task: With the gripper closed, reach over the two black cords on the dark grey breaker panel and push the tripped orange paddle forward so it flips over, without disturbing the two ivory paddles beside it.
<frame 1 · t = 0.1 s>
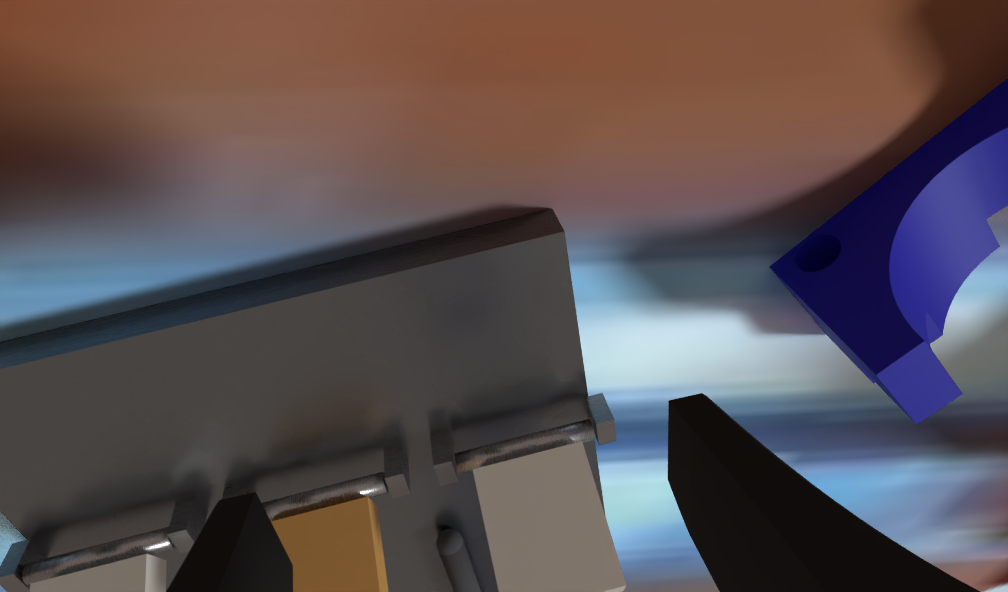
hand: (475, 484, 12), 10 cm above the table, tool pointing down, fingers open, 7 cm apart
ivory paddle 1: (546, 528, 21), point 5 cm above the table, hinge at -25.0°
breaker panel: (337, 481, 25), on the table
cords: (382, 574, 29), resting on breaker panel
cable clip: (940, 184, 23), on the table
orange paddle: (323, 587, 21), point 5 cm above the table, hinge at -25.0°
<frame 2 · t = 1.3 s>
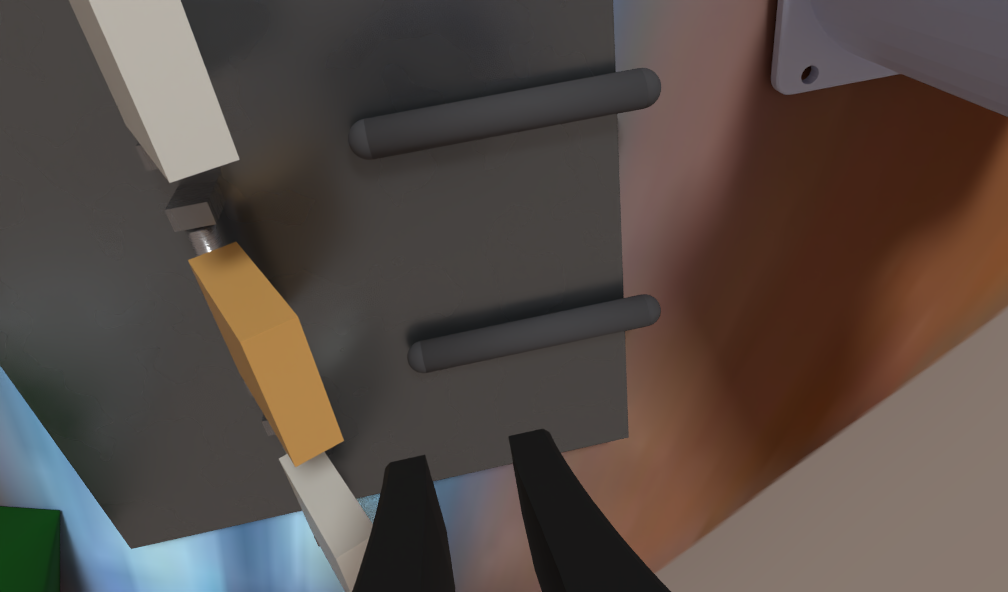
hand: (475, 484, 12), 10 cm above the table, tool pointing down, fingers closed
ivory paddle 1: (137, 45, 12), point 5 cm above the table, hinge at -25.0°
ivory paddle 2: (341, 532, 20), point 5 cm above the table, hinge at -25.0°
breaker panel: (313, 242, 20), on the table
cords: (509, 204, 21), resting on breaker panel
orange paddle: (264, 348, 16), point 5 cm above the table, hinge at -25.0°
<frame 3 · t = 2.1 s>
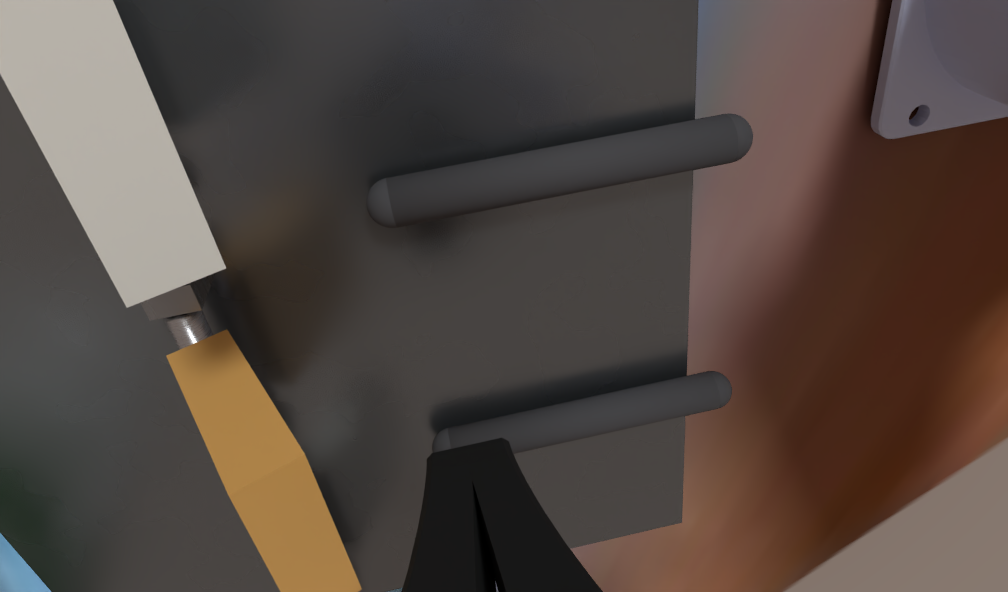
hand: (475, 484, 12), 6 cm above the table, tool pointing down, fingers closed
ivory paddle 1: (86, 107, 9), point 5 cm above the table, hinge at -25.0°
breaker panel: (320, 313, 17), on the table
cords: (554, 266, 17), resting on breaker panel
orange paddle: (261, 469, 13), point 5 cm above the table, hinge at -25.0°
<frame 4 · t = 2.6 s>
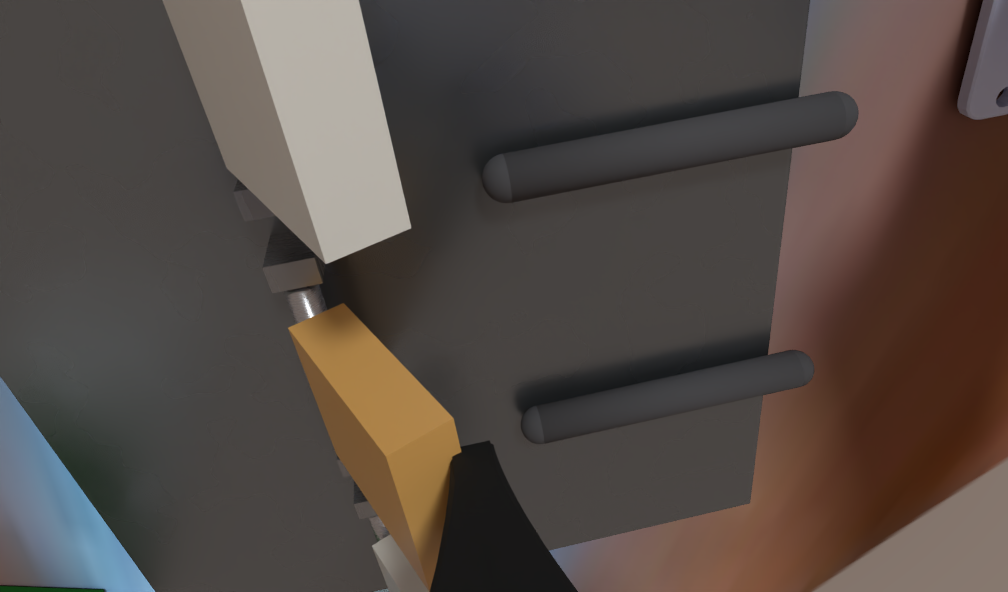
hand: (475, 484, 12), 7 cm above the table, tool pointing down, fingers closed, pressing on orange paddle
ivory paddle 1: (268, 72, 9), point 5 cm above the table, hinge at -25.0°
breaker panel: (413, 292, 17), on the table
cords: (641, 246, 18), resting on breaker panel
orange paddle: (384, 439, 13), point 5 cm above the table, hinge at -24.6°, touching gripper
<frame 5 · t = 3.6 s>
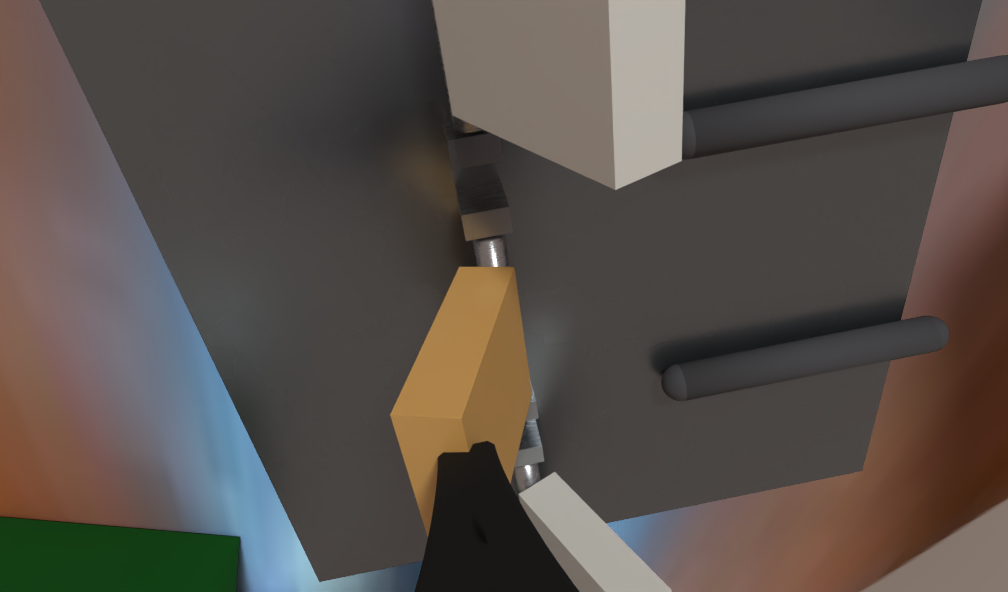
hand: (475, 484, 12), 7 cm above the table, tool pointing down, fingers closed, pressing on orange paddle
ivory paddle 1: (541, 16, 10), point 5 cm above the table, hinge at -25.0°
ivory paddle 2: (592, 580, 18), point 5 cm above the table, hinge at -25.0°
breaker panel: (563, 251, 18), on the table
cords: (783, 211, 18), resting on breaker panel
milk carton: (121, 586, 23), on the table
orange paddle: (474, 402, 14), point 5 cm above the table, hinge at 19.9°, touching gripper
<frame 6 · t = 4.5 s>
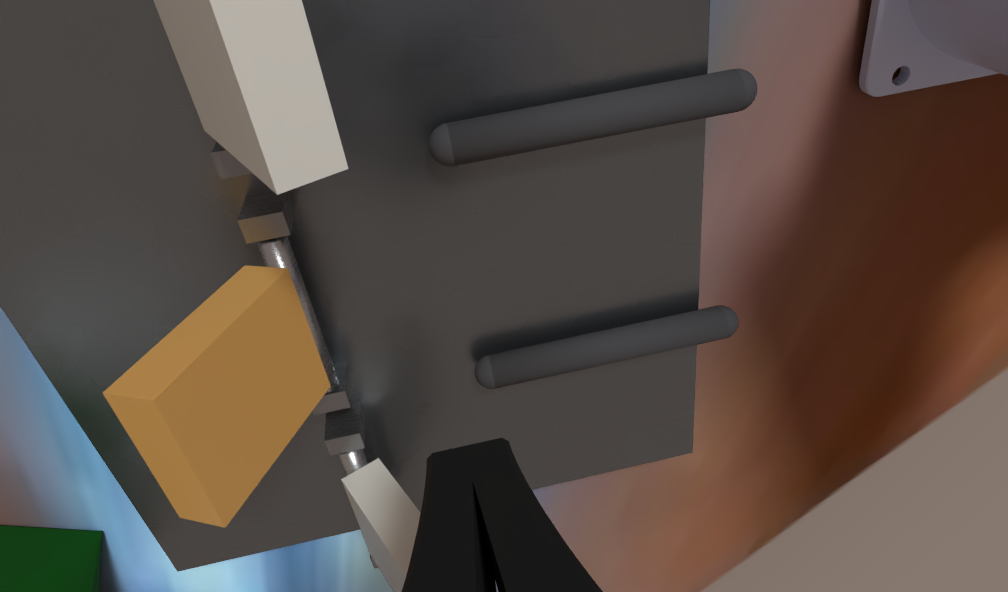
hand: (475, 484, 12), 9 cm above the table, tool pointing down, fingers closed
ivory paddle 1: (233, 44, 11), point 5 cm above the table, hinge at -25.0°
ivory paddle 2: (408, 557, 19), point 5 cm above the table, hinge at -25.0°
breaker panel: (377, 252, 19), on the table
cords: (581, 211, 20), resting on breaker panel
orange paddle: (235, 388, 15), point 5 cm above the table, hinge at 27.9°
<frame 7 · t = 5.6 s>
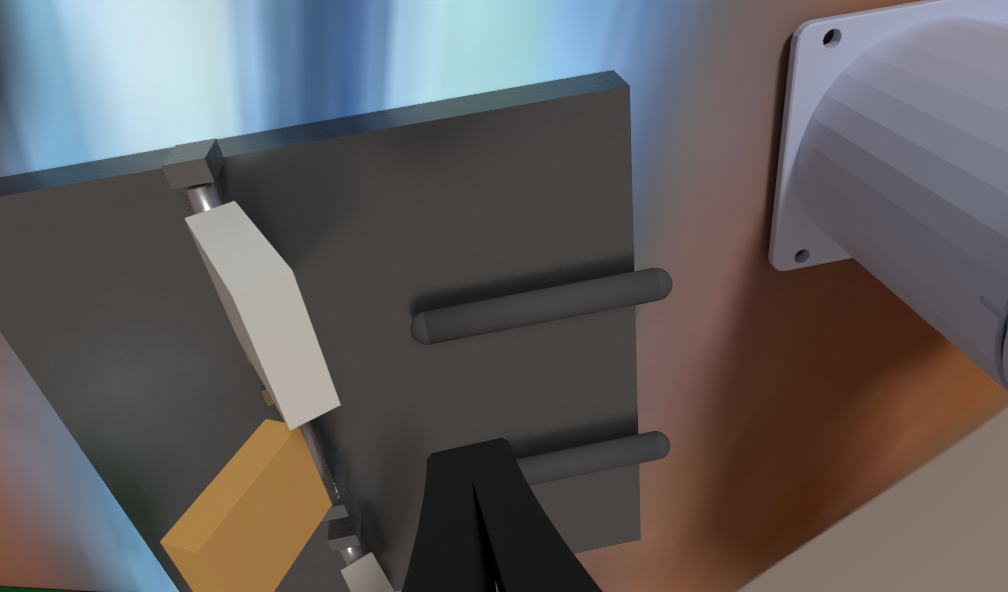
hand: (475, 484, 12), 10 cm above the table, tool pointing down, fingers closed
ivory paddle 1: (260, 309, 16), point 5 cm above the table, hinge at -25.0°
breaker panel: (372, 387, 24), on the table
cords: (540, 354, 24), resting on breaker panel
orange paddle: (256, 520, 19), point 5 cm above the table, hinge at 28.5°
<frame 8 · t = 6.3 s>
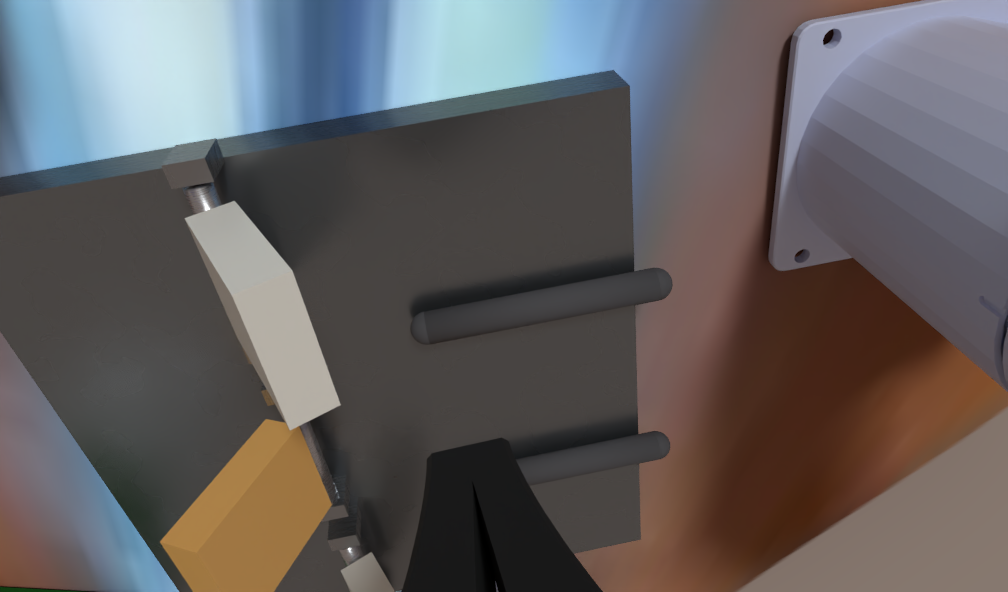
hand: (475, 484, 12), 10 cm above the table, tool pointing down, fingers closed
ivory paddle 1: (260, 309, 16), point 5 cm above the table, hinge at -25.0°
breaker panel: (372, 387, 24), on the table
cords: (540, 354, 24), resting on breaker panel
orange paddle: (256, 520, 19), point 5 cm above the table, hinge at 28.6°
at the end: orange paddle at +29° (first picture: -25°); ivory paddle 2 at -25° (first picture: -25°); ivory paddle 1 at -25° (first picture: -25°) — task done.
